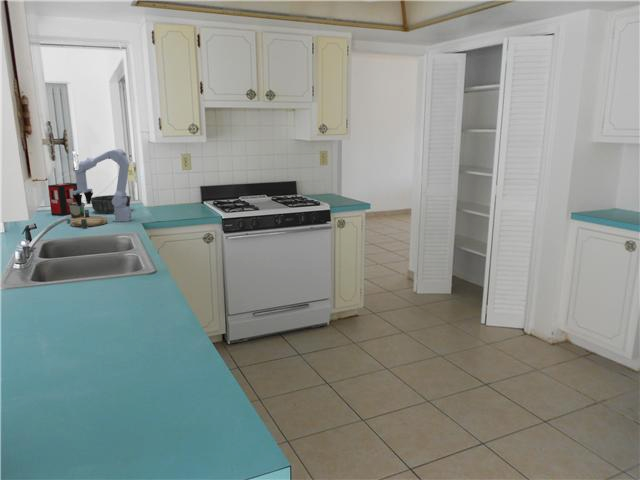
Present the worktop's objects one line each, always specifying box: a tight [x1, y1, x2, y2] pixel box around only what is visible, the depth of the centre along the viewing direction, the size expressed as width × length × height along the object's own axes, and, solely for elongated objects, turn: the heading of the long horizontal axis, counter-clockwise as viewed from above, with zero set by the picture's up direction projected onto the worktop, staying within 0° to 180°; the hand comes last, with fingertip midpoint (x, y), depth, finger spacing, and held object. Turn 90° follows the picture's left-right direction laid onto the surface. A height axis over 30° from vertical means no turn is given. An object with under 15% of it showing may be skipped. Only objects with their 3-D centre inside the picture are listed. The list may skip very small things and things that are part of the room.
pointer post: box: [81, 219, 88, 230], centre depth 287 cm, size 4×2×5 cm, turn 15°
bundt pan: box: [90, 194, 132, 215], centre depth 341 cm, size 26×26×10 cm
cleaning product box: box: [47, 182, 77, 217], centre depth 331 cm, size 16×9×20 cm, turn 161°
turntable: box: [69, 209, 108, 228], centre depth 297 cm, size 20×20×7 cm
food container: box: [69, 201, 86, 219], centre depth 316 cm, size 12×6×10 cm, turn 59°
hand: (84, 204), depth 307 cm, fingers open, 7 cm apart
